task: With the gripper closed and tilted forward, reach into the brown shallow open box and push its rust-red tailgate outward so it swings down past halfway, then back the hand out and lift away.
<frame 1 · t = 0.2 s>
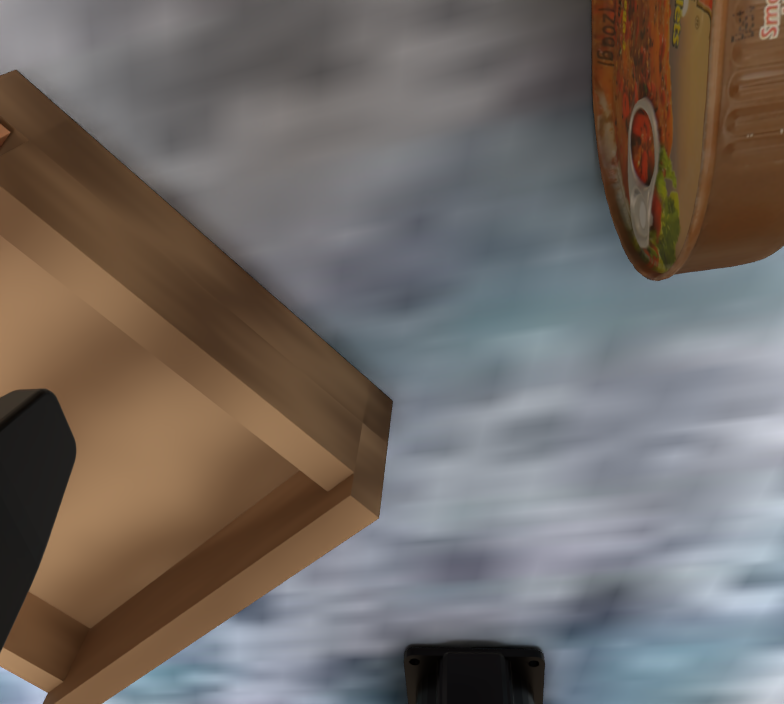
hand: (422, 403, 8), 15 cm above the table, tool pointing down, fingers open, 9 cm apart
brown shallow open box: (79, 400, 28), on the table
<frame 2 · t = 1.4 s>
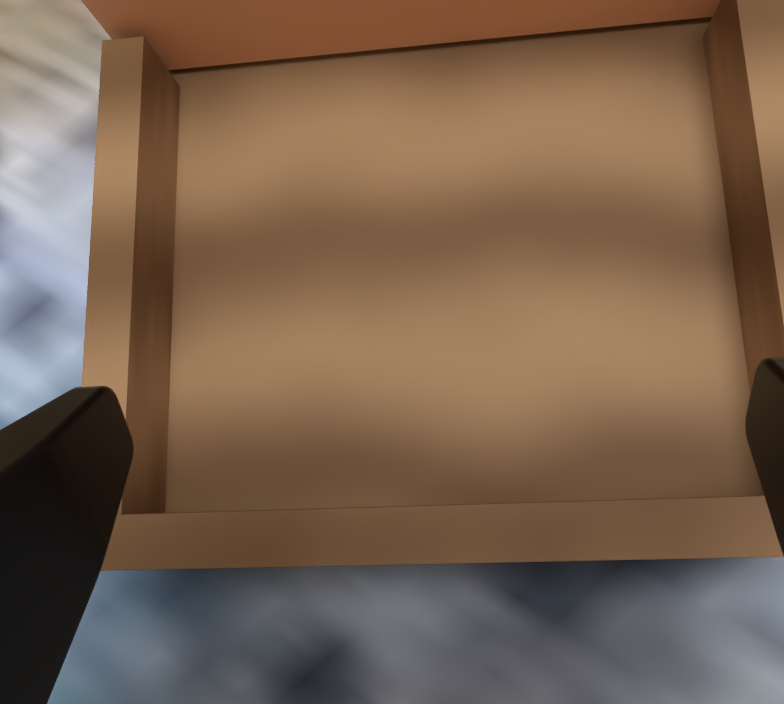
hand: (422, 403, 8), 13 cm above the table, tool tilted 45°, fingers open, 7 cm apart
brown shallow open box: (444, 283, 23), on the table
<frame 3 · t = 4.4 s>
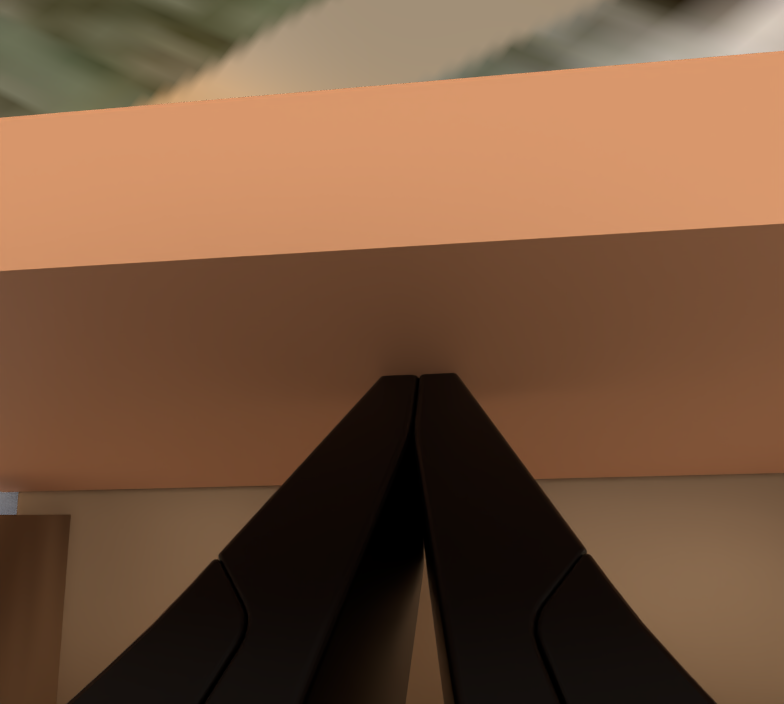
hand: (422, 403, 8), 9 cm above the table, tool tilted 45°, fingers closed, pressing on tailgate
tailgate: (428, 348, 10), point 7 cm above the table, hinge at 8.6°, touching gripper
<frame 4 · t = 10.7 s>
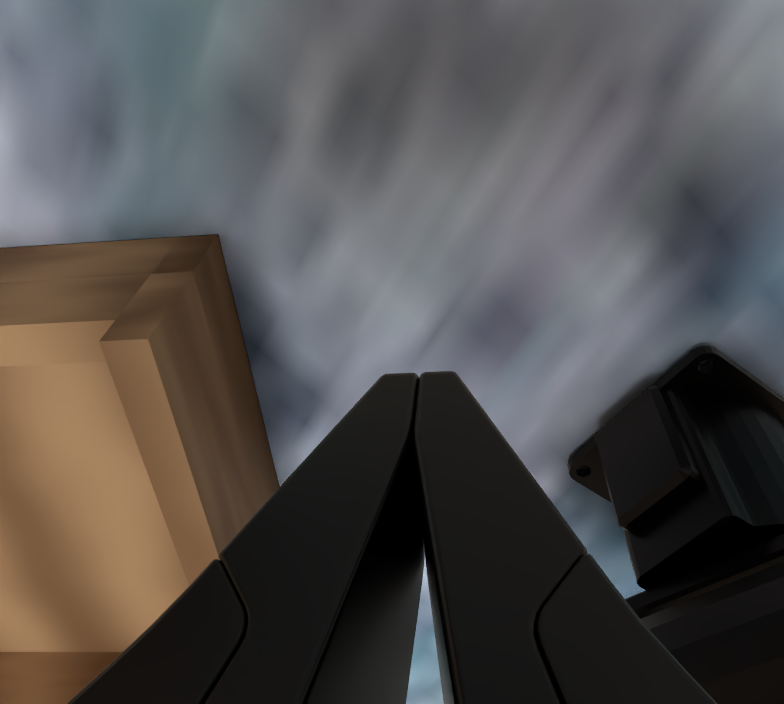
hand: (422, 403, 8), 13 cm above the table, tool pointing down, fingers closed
brown shallow open box: (67, 466, 27), on the table
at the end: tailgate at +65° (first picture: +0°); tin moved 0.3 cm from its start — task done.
